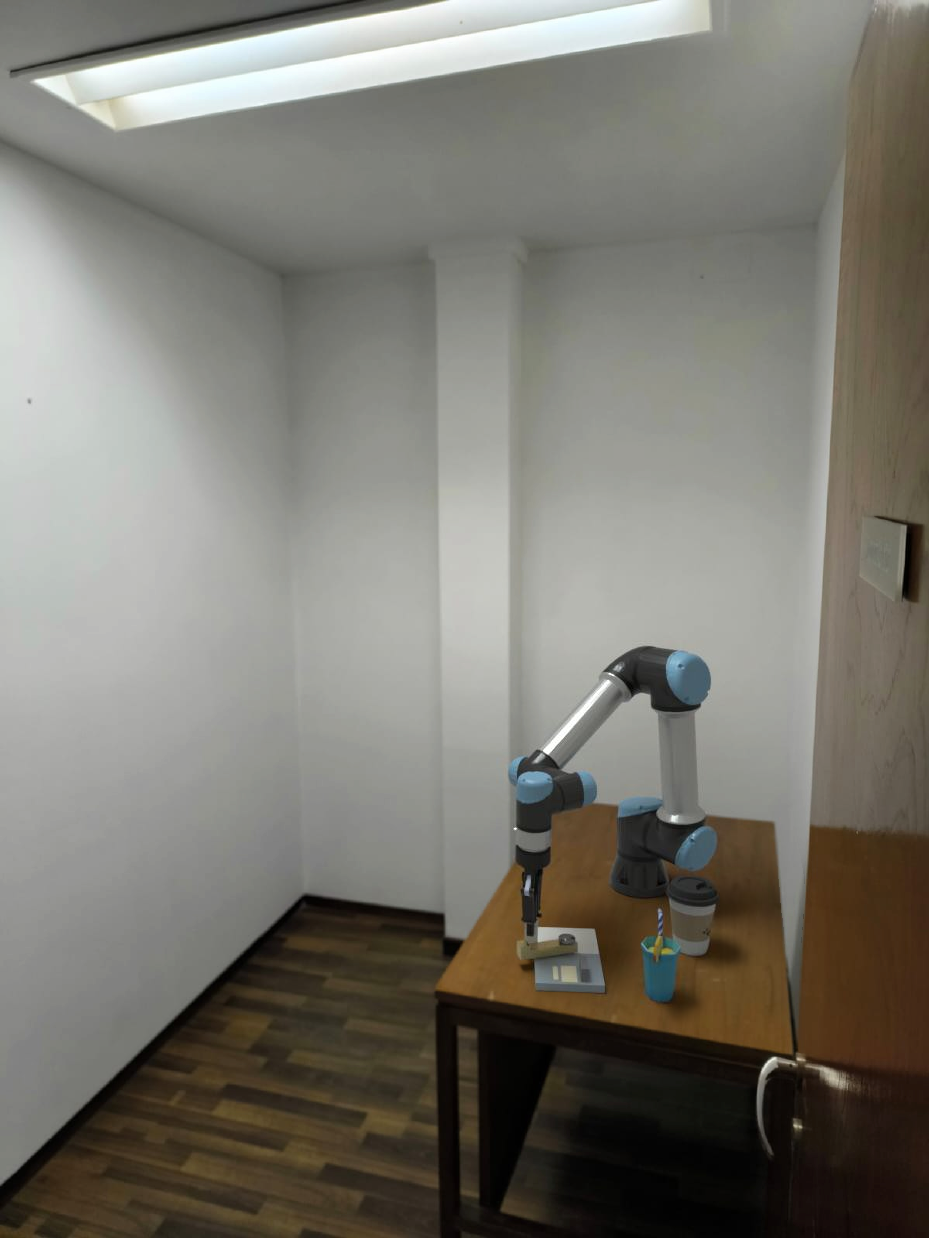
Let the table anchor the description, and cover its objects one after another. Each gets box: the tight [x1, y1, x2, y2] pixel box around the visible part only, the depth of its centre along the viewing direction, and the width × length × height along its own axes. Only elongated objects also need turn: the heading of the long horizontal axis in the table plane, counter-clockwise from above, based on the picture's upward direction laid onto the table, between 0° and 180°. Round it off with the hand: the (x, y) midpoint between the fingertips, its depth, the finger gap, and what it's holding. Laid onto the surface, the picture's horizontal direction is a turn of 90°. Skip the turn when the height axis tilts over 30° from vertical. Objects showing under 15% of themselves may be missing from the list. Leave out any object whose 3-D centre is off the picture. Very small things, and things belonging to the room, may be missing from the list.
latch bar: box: [516, 934, 578, 961], centre depth 175 cm, size 13×4×3 cm, turn 105°
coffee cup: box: [665, 874, 720, 957], centre depth 181 cm, size 11×11×15 cm
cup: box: [640, 908, 681, 1003], centre depth 163 cm, size 14×8×15 cm, turn 168°
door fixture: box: [533, 926, 606, 994], centre depth 176 cm, size 14×23×4 cm, turn 176°
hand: (530, 946), depth 177 cm, fingers closed
